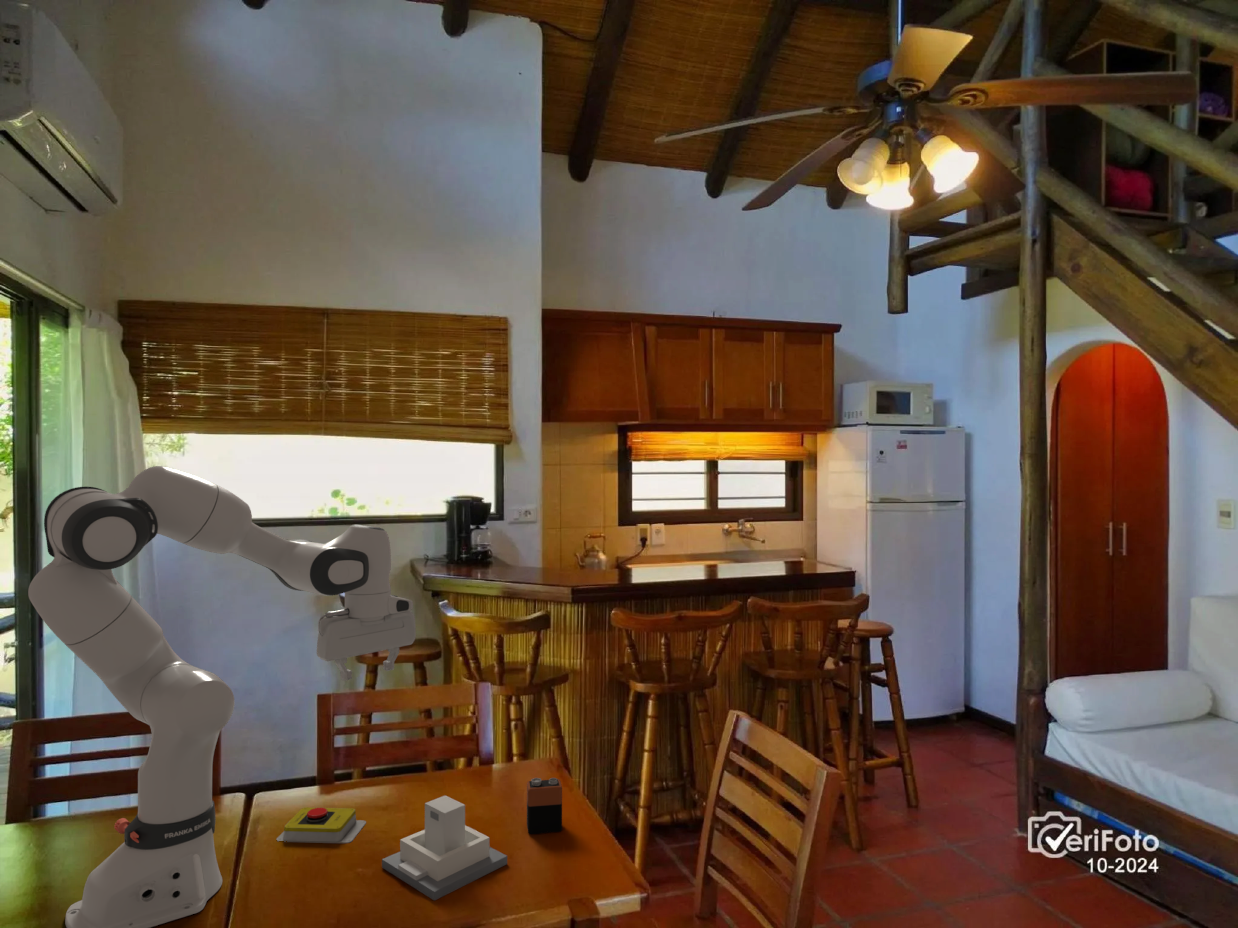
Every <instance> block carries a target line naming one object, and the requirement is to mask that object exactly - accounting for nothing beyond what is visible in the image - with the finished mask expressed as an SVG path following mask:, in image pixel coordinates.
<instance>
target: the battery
mask: <svg viewBox="0 0 1238 928" xmlns="http://www.w3.org/2000/svg"><path fill="white" fill-rule="evenodd" d="M526 829H527V833H528V834H529V835H536V834H548V833H559V832H562V831H563V787H562V782H561V780H560V779H558V778H556V777H551V778H549V779H542V778H539V777H534V778H532V779H530V780H529V781H527V783H526Z"/></svg>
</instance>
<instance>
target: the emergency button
mask: <svg viewBox="0 0 1238 928" xmlns="http://www.w3.org/2000/svg"><path fill="white" fill-rule="evenodd" d="M356 817H357V816H356V808H352V807H303V808H301V809H299V811H298V812H297V813H296V814H294V815H293V817H292V818H290V819H289V821H288V822H287V823H286V824H285V825H284V827H283V832H281V834H280V835H278V836H277V837H276V840H277V842H279V841H284V842H283V843H312V844H313V843H315V844H316V843H318V844H319V843H320V844H321V843H322V844H349V843H351V842H353V841H354V839H355V838H356V837H357V836H358V835H359V833H360V832H361V830H363V828H364V827H365V825H366V824H367V821H366V820H361V819H359V820H357V818H356ZM286 841H287V842H286Z"/></svg>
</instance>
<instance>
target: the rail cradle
mask: <svg viewBox="0 0 1238 928" xmlns="http://www.w3.org/2000/svg"><path fill="white" fill-rule="evenodd" d="M399 841H400V842H399V847H400V848H399V849H400V851H398V852H395V853H393V854H390V855H388V856H386V857H385V858H384V857H383V858H382V859H381V868H382V869H384V870H385V871H387V872H388V873H390V874H392V875H393V876H395V877H396V878H398V879H400V880H401V881H402V882H404V883H405V884H408V885H409V886H411V887H412V888H414V889H415V890H416V891H418V892H420V893H421V894H423V895H424V896H426V897H428V898H429V899H431V900H433V901H436V900H437V901H438V899H441V898H442V897H444V896H447V895H448V894H450V893H452V892H455V891H456V890H459V889H461V888H462V887H464V886H466V885H469V884H470V883H473V882H474V881H477V880H478V879H480V878H483V877H484V876H486V875H488V874H490V873H492V872H494V871H497V870H498V869H501V868H502V867H504V866H506V865H508V855H507V854H504V853H502V852H500V851H499V850H497V849H495V848H493V847H491V846H490V837H489V836H487V835H486V834H484V833H482V832H479V831H477V830H476V829H475V828H472V827H471V826H467V825H466V824H465V845H463V846H461V847H458V848H456V849H454V850H452V851H450V852H447V853H445V854H443V855H441V856H438V855H436V854H435V853H433V852H431V851H429V850H428V849H426V848H425V829H422V830H421V831H418V832H415V833H413V834H410V835H408V836H405V837H403V838H401V839H399Z"/></svg>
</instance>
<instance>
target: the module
mask: <svg viewBox="0 0 1238 928" xmlns="http://www.w3.org/2000/svg"><path fill="white" fill-rule="evenodd" d="M465 825H466V804H464V803H462V802H460V801H458V800H456V799H454V798H451V797H450V796H447V795H442V796H440V797H437V798H435V799H432V800H430V801H427V802H425V803H424V830H425V848H426V849H428V850H429V851H431V852H433V853H435V854H436V855H438V856H441V855H443V854H445V853H447V852H450V851H452V850H454V849H456V848H458V847H461V846H463V845H465Z"/></svg>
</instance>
